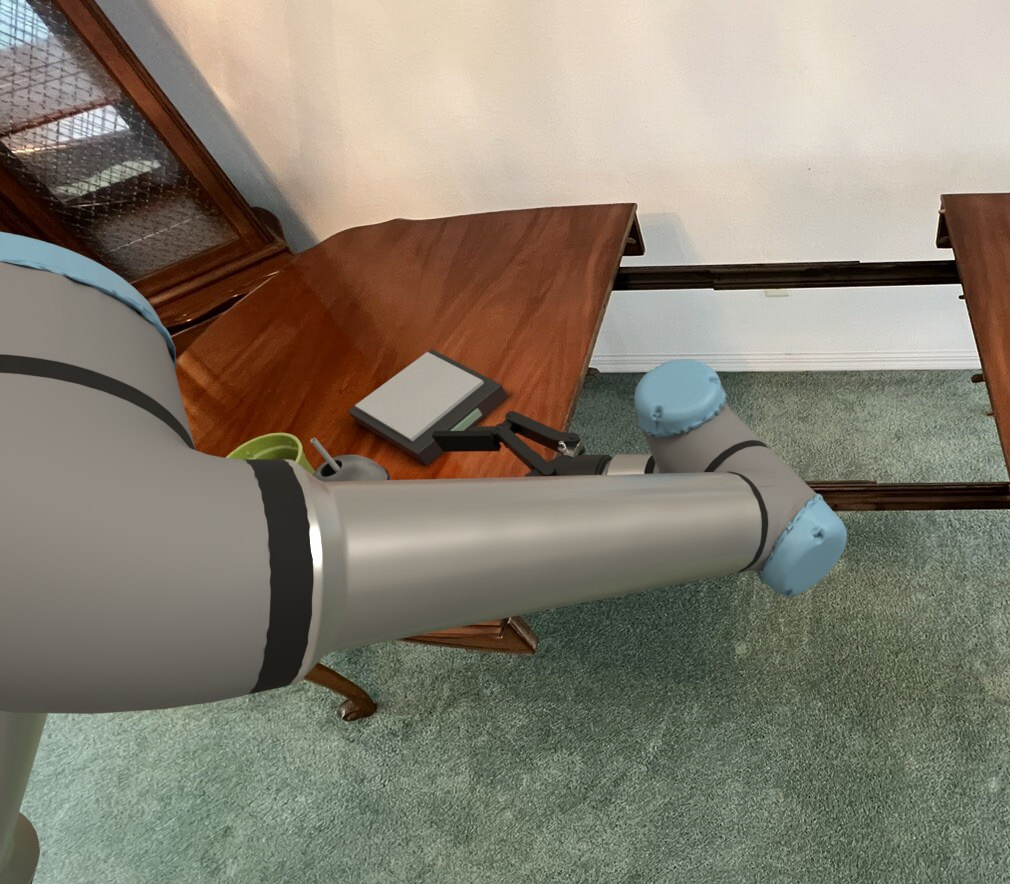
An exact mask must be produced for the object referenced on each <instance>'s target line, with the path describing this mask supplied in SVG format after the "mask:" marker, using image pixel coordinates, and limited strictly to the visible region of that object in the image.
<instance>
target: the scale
mask: <svg viewBox="0 0 1010 884" xmlns="http://www.w3.org/2000/svg"><path fill="white" fill-rule="evenodd" d="M508 398H509V396H508V394H507V392H506V391H505V388H504V387H503V385H502V384H501V383H499V382H497V381H496V380H495V381H494V380H493V379H491V378H489V377H488V376H485V375H483V374H481V373H479V372H478V371H475V370H473V369H471V368H469V367H467V366H465V365H464V364H462V363H460V362H458V361H456V360H454V359H452V358H450V357H448V356H446V355H444V354H442V353H440V352H438V351H436V350H434V349H430V350H429V351H426V352H425V353H424V354H422V355H421V356H419V357H418V358H417V359H416V360H414V361H412V363H410V364H408V365H407V366H405V368H403V369H402V370H400V371H399V372H398V373H397V374H395V375H394V376H392V378H390V379H388V380H387V381H386V382H384V383H383V384H382V385H380V386H379V387H378V388H376V389H374V390H373V391H372V392H371V393H369V394H368V395H366V397H364V398H363V399H361V400H360V401H359V402H357V403H356V404H355V405H354V406H353V407H352V408H351V409H349V410H348V411H347V412H348V414H349V416H351V417H352V418H353V420H355V422H356V423H357V424H358V425H360V426H362V427H363V428H365V429H366V430H367V431H369V432H371V433H373V434H374V435H376V436H378V437H379V438H381V439H383V440H384V441H386V442H387V443H389V444H390V445H392V446H394V447H396V448H397V449H399V450H400V451H402V452H403V453H405V454H407V455H408V456H410V457H411V458H413V459H415V460H416V461H418V462H419V463H421V464H423V465H425V466H426V467H427V466H428V465H430V464H431V463H432V462H433V461H434V460H435V459H437V458H438V457H439V456H440V455H442V454H443V453H444V452H443V451H442V449H441V448H440V447H439V445H438V444H437V443H436V441H435V440H434V439H433V438H432V434H433V432H434V431H468V430H469V428H470V427H474V426H477V424H478V423H479V422H481V420H483V419H484V418H485V417H486V416H488V415H489V414H490V413H491V412H492V411H493V410H495V408H497V407H498V406H500V404H502V403H504V401H505V400H506V399H508Z"/></svg>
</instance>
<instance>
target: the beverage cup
mask: <svg viewBox="0 0 1010 884" xmlns="http://www.w3.org/2000/svg"><path fill="white" fill-rule="evenodd" d="M310 443H311V444H312V446H313V447H314V448H315V449H316V450H317V451H318V452H319V454H320V455H321V456H322V457H323V459H324V460H325V461H324V462H323V463H321V464H320V465H319V466H318V467H317V468H316V469H315V472H314V474H313V476H314V477H315V478H316V479H318V480H321V481H323V482H340V481H380V480H392V478H391V475H390V473H389V471H388V469H386V468H385V467H384V466H383V465H382V464H379V463H378V462H376V461H375V460H373V459H371V458H369V457H367V456H363V455H358V454H341V455H337V456H333V457H332V456H331V455H330V454H329V453H328V451H327V450H326V449H325V447H324V446H323V445H322V444H321V443H320V441H319V440H318V439H317V438H316V437H313V438H311V439H310Z"/></svg>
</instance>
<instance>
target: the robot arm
mask: <svg viewBox="0 0 1010 884" xmlns="http://www.w3.org/2000/svg"><path fill="white" fill-rule="evenodd" d="M176 351H177V347H176V346H175V344H174V341H173V339H172V336H171V334H170V332H169V331H168V329H167V328H166V327H165V326H164V325H163V324H162V321H161V319H160V317H159V315H158V313H157V312H156V310H155V309H154V307H153V306H152V304H150V302H149V301H148V300H147V299H146V298H145V297H144V295H142V294H141V293H140V292H139V290H137V289H136V288H135V287H134V286H133V285H132V284H131V283H129V282H128V281H127V280H126V279H124V278H123V277H122V276H121V275H119V274H117V273H116V272H115V271H112V270H111V269H109V268H108V267H106V266H105V265H102V264H101V263H99V262H97V261H95V260H94V259H91V258H89V257H87V256H85V255H82V254H80V253H78V252H75V251H73V250H71V249H69V248H66V247H62V246H59V245H57V244H54V243H52V242H51V243H50V242H47V241H44V240H40V239H36V238H33V237H29V236H24V235H20V234H15V233H14V234H13V233H9V232H3V231H0V884H33V881H34V878H35V875H36V872H37V868H38V866H39V861H40V854H41V845H40V839H39V836H38V832H37V830H36V828H35V827H34V825H33V823H32V822H31V821H30V819H29V818H27V816H26V815H25V814H24V813H22V812H20V811H21V807H22V804H23V801H24V797H25V794H26V790H27V788H28V783H29V780H30V776H31V774H32V770H33V767H34V763H35V760H36V756H37V753H38V749H39V746H40V743H41V739H42V736H43V732H44V730H45V726H46V722H47V719H48V715H49V714H68V715H69V714H70V715H71V714H72V715H75V714H78V715H80V714H81V715H96V714H111V713H126V712H142V711H158V710H168V709H169V710H170V709H177V708H181V707H189V706H190V707H191V706H196V705H203V704H210V703H216V702H220V701H221V702H222V701H226V700H231V699H235V698H241V697H245V696H248V695H254V694H259V693H263V692H267V691H271V690H277V689H282V688H286V687H290V686H295V685H296V684H299V683H300V682H302V680H303V679H305V677H306V676H307V675H309V672H311V671H312V670H313V668H315V666H317V664H318V663H319V662H320V661H321V660H322V659H323V658H324V656H326V655H327V654H330V653H335V652H340V651H344V650H345V651H346V650H351V649H355V648H360V647H361V648H362V647H366V646H370V645H377V644H380V643H386V642H387V643H388V642H390V641H397V640H401V639H402V640H403V639H406V638H412V637H417V636H423V635H427V634H431V633H432V634H433V633H438V632H443V631H447V630H452V629H457V628H463V627H468V626H473V625H478V624H483V623H488V622H493V621H498V620H504V619H509V618H513V617H517V616H518V617H519V616H523V615H528V614H534V613H538V612H544V611H549V610H555V609H561V608H564V607H570V606H574V605H580V604H584V603H591V602H595V601H600V600H606V599H611V598H615V597H620V596H625V595H630V594H636V593H641V592H645V591H651V590H655V589H662V588H667V587H671V586H676V585H682V584H686V583H692V582H696V581H702V580H706V579H713V578H717V577H722V576H723V577H724V576H727V575H733V574H740V573H747V572H750V571H753V572H755V573H756V575H758V579H759V581H760V582H761V583H764V584H765V585H767V586H768V587H769V588H770V589H771V590H772V591H773V592H774V593H776V594H778V595H782V596H783V597H793V596H798V595H801V594H803V593H804V592H807V591H809V589H811V588H813V587H814V586H816V585H817V584H818V583H820V581H822V579H824V578H825V577H826V576H827V575H828V574H829V573H830V572H831V571H832V569H833V568H834V567H835V566H836V564H837V562H839V559H840V558H841V556H842V555H843V552H844V551H845V548H846V545H847V541H848V540H847V539H848V532H847V528H846V525H845V524H844V521H843V520H842V519H841V518H840V517H839V516H838V515H837V514H836V513H835V512H834V510H832V508H831V507H830V506H829V505H828V503H827V502H826V501H825V500H824V496H823V495H822V494H821V493H817V492H816V491H814V489H813V488H811V487H810V485H809V484H808V483H806V482H805V481H804V480H803V479H802V478H801V477H800V476H799V475H798V474H797V473H796V472H794V470H793V469H791V467H789V466H788V465H787V464H786V463H785V462H784V461H783V459H781V458H780V457H779V456H778V455H777V454H776V453H775V452H773V450H772V449H770V448H769V446H768V445H767V444H766V443H765V442H764V441H763V440H762V439H761V438H760V437H759V436H758V435H757V434H756V433H755V432H754V431H753V430H751V428H750V427H749V426H748V425H746V424H745V422H744V421H743V420H742V419H741V418H740V417H739V416H738V415H736V414H735V413H734V412H733V410H732V409H731V408H730V406H729V405H728V403H727V401H726V399H727V393H726V390H725V389H724V388H723V386H722V382H721V380H720V377H719V375H718V373H717V372H716V371H715V370H714V368H712V366H710V365H708V364H706V363H704V362H702V361H699V360H695V359H688V358H679V359H672V360H669V361H665V362H663V363H661V364H660V365H657V366H656V367H655V368H652V369H650V370H649V371H648V372H646V373H644V375H643V377H642V378H641V379H640V380H639V382H638V384H636V388H635V390H634V396H633V397H634V399H633V400H634V406H635V410H636V415H637V417H638V426H639V429H640V431H642V433H643V435H644V437H645V440H646V443H647V445H648V447H649V450H650V452H651V453H649V454H648V453H647V454H643V453H639V454H637V453H634V454H633V453H618V454H614V456H613V457H612V456H611V455H610V454H585V452H586V447H585V446H584V444H583V441H582V440H581V437H580V435H579V434H578V433H576V432H568V431H560V430H557V429H555V428H553V427H550V426H548V425H546V424H544V423H542V422H539V421H537V420H535V419H532V418H530V417H528V416H526V415H523V414H522V413H519V412H517V411H514V410H510V411H507V412H506V413H505V415H504V418H505V419H504V420H503V421H502V422H501V423H497V424H496V425H486V426H485V425H484V426H482V425H474V426H473V427H470V428H469V430H468V431H434V432H433V434H432V438H433V439H434V440H435V441H436V443H437V444H438V445H439V447H440V448H441V449H442V451H443V452H442V453H447V452H448V453H453V452H455V453H458V452H462V453H463V452H467V453H468V452H500V451H501V448H502V444H503V446H504V448H505V449H508V450H509V451H510V453H512V454H513V455H514V456H515V457H516V458H517V459H518V460H519V461H520V462H522V463H523V464H524V465H525V466H526V467H527V468H528V469H529V470H530V471H529V472H528V473H525V474H524V476H505V477H501V476H500V477H468V478H467V477H465V478H460V477H459V478H429V479H428V478H427V479H425V478H424V479H423V478H422V479H421V478H420V479H391V480H380V481H340V482H323V481H321V480H318V479H316V478H315V477H314V476H313V475H311V474H310V473H309V472H308V471H306V470H305V469H304V468H303V467H302V466H300V465H299V464H298V463H297V462H295V461H293V460H289V459H233V458H226V457H222V456H218V455H213V454H207V453H204V452H201V451H198V450H197V449H196V446H195V442H194V438H193V435H192V431H191V428H190V424H189V420H188V417H187V413H186V409H185V406H184V402H183V398H182V397H183V396H182V393H181V389H180V385H179V381H178V376H177V372H176V368H177V365H178V361H177V358H176V356H177V355H176ZM518 435H519V436H522V437H524V438H526V439H528V440H530V441H532V442H535V443H537V444H539V445H541V446H543V447H545V448H548V449H550V450H552V451H554V452H556V453H559V454H560V455H559V456H557V457H555V458H553V459H551V460H549V461H547V460H546V459H545V458H544V457H543V456H541V454H539V453H538V452H537V451H535V450H533V449H532V448H531V447H530V446H529V445H528V444H527V443H526V442H524V440H522V439H521V438H520V437H519V436H518ZM501 443H502V444H501Z"/></svg>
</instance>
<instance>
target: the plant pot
mask: <svg viewBox="0 0 1010 884" xmlns="http://www.w3.org/2000/svg"><path fill="white" fill-rule="evenodd" d="M225 458H233V459H289V460H293V461H295V462H297V463H298V464H299V465H300V466H302V467H303V468H304V469H305V470H306V471H308V472H309V473H310V474H311V475H313V474H314V472H315V471H316V469H314V468H313V466H312V465H311V464H310V462H309V461H308V459H307V458H306V454H305V452H304V448H303V443H302V442H301V440H299V438H298V437H297V436H295V435H293V434H291V433H287V432H273V433H268V434H264V435H260V436H257V437H254V438H252V439H250V440H248V441H246V442H245V443H242V444H241V445H239V446H238V447H236V448H235V449H234V450H233V451H232V452H230V453H229V454H227V456H226V457H225Z"/></svg>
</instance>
